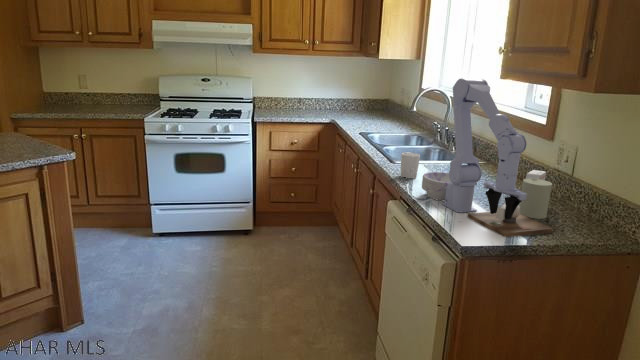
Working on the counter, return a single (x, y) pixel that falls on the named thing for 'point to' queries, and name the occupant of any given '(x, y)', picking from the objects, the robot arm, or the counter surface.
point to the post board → (510, 224)
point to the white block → (501, 212)
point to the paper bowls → (435, 184)
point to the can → (535, 198)
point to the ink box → (536, 175)
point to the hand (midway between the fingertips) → (500, 216)
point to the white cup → (409, 164)
